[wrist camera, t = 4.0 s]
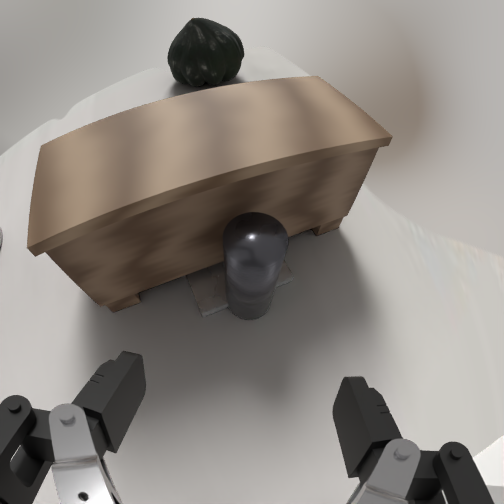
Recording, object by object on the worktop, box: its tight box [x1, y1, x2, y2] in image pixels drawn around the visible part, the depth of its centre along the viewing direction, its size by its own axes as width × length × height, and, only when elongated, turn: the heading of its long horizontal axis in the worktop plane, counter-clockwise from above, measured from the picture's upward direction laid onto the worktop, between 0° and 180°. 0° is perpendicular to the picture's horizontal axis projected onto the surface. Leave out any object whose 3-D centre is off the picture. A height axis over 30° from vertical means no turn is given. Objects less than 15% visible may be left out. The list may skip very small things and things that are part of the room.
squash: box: [168, 18, 244, 86], centre depth 43 cm, size 14×15×15 cm
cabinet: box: [27, 76, 392, 312], centre depth 24 cm, size 27×11×13 cm, turn 115°
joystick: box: [186, 212, 294, 320], centre depth 23 cm, size 9×12×10 cm
